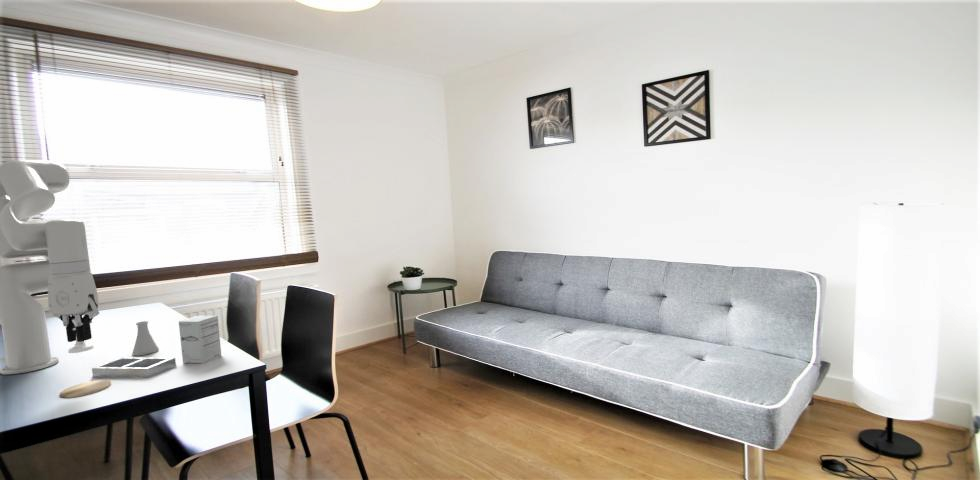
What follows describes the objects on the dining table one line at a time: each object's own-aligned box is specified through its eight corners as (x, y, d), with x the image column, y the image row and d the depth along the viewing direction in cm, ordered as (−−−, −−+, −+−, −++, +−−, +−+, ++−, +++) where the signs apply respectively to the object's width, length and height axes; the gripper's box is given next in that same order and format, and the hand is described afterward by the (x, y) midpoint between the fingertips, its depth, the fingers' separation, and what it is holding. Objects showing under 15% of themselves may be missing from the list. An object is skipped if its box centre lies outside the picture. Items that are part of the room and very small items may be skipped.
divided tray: (92, 376, 131) (91, 368, 131) (123, 365, 140) (122, 357, 140) (148, 377, 128) (147, 368, 128) (176, 365, 137) (175, 357, 137)
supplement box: (181, 363, 139) (177, 321, 138) (202, 354, 146) (198, 314, 145) (202, 364, 137) (198, 321, 136) (222, 355, 144) (218, 314, 143)
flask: (155, 347, 157) (151, 318, 156) (162, 351, 152) (159, 321, 151) (128, 354, 151) (125, 323, 150) (135, 357, 147) (131, 326, 146)
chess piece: (78, 353, 117) (73, 313, 117) (63, 353, 118) (57, 314, 118) (98, 347, 122) (93, 309, 121) (83, 347, 123) (78, 309, 122)
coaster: (49, 397, 117) (48, 395, 117) (89, 381, 127) (89, 379, 127) (82, 398, 116) (82, 396, 115) (121, 382, 125) (120, 380, 125)
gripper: (27, 272, 116) (37, 345, 118) (81, 270, 114) (91, 344, 115) (60, 267, 124) (69, 336, 125) (111, 265, 121) (120, 335, 122)
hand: (79, 339), depth 120 cm, fingers closed on chess piece
